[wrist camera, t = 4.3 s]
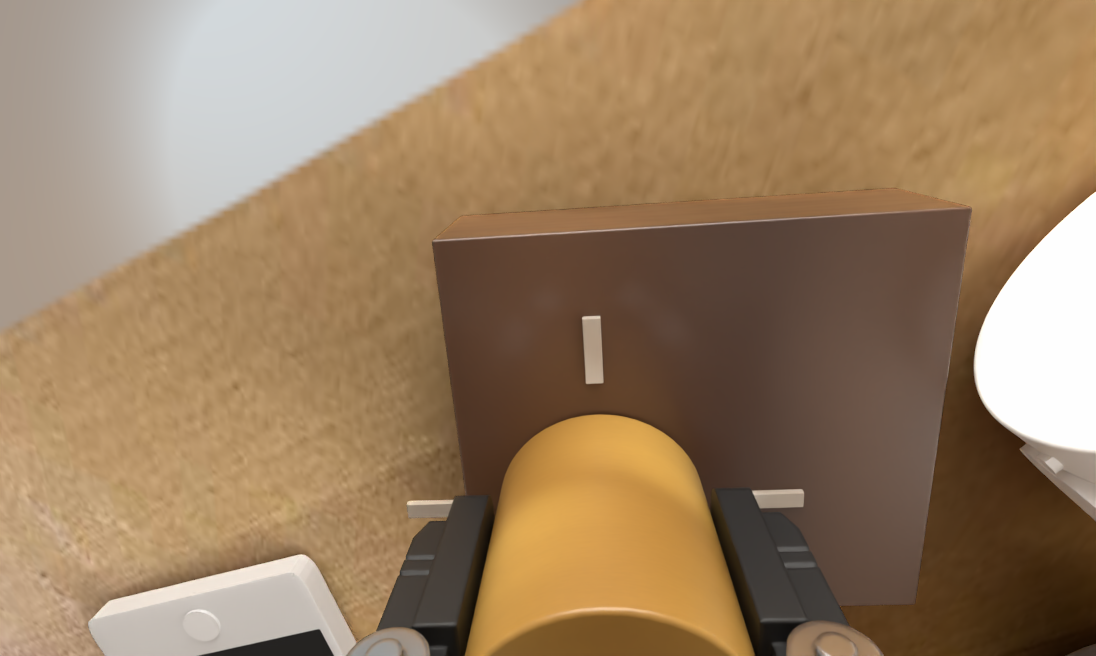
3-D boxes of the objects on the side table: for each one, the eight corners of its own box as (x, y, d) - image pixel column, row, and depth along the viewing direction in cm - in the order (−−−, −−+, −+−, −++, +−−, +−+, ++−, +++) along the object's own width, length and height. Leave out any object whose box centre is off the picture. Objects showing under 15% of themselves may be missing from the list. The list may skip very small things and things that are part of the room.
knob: (510, 586, 15) (467, 869, 9) (491, 416, 13) (426, 632, 8) (701, 582, 14) (775, 874, 9) (703, 408, 13) (791, 626, 7)
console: (457, 572, 18) (432, 661, 15) (406, 218, 15) (362, 245, 12) (857, 563, 18) (913, 656, 15) (896, 187, 14) (979, 208, 11)
